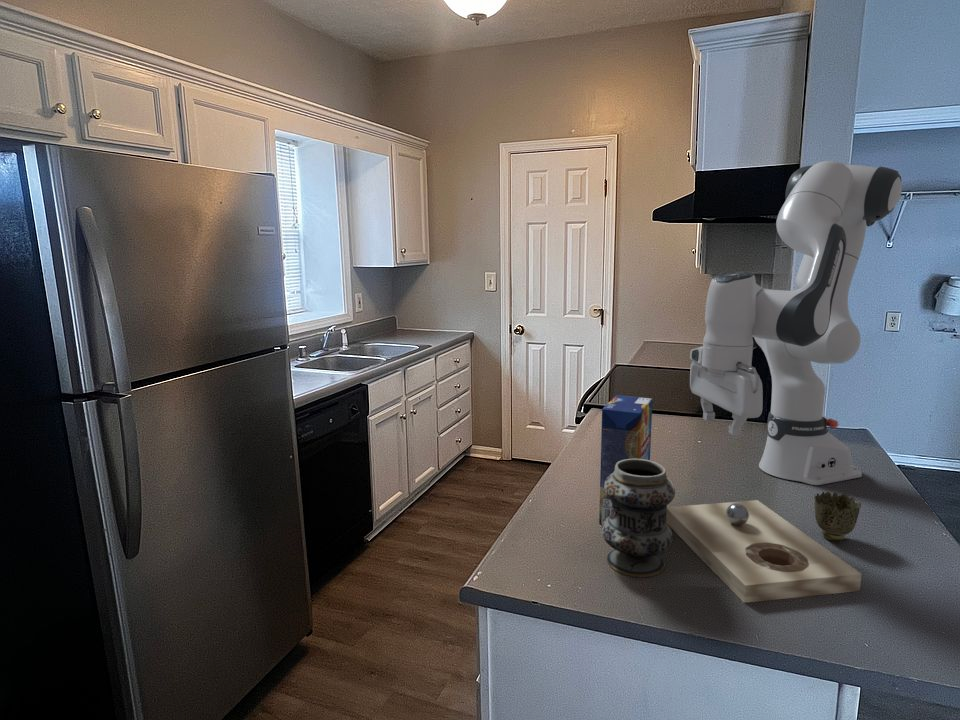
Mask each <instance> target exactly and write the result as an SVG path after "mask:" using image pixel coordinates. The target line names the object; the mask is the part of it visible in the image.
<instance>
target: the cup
mask: <svg viewBox="0 0 960 720" xmlns="http://www.w3.org/2000/svg"><path fill="white" fill-rule="evenodd" d="M855 500H856V499H855V498H854V497H853V496H852V497H850V496H848V495H847V494H845V493H843V494H841V495H838V493H837V492H836V491H835V492H833V494H831V492H830V491H826V492H824V491H822V492H821V494H819V492H817V493H816V495H814V517H815V520H816V521H815V522H816V524H817V526H818V527H819V528H820V529H821V530H822V532H821V533H822V536H823V538H825V539H826V540H828V541H830V542H834V543H840V542H844V540H845V538H846V535H847V534H848V535H849V534H851V532H852V531H853V530H854V528H855V527H856V525H857V520H858V517H859V514H860V510H861V506H862V503H861V501H858V502H856V501H855Z"/></svg>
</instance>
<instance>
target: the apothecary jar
mask: <svg viewBox="0 0 960 720" xmlns="http://www.w3.org/2000/svg"><path fill="white" fill-rule="evenodd" d="M604 489H605V492H606V494H607V496H608V497H609V498H610V499H611V503H610V514H609V517H608V518H606V520H605V521H604V522H603V524H601V525H602V526H601V537H602V538H603V540H604V541H605V543H606V544H607V545H608V546H610V547H611V549H612V550H611V551H610V552H609V553H608V554H607V557H606V561H607V564H608V565H609V566H610V568H611V569H613V571H616V572H618V573H620V574H622V575H624V576H629V577H633V578H651V577H655V576H657V575H660V574H661V573H662V572H663V571H664V569H665V567H666V566H665V560H664V559H662V558H660V557H659V555H661V554H663V553H664V552H666V551H667V550H668V549H669V548H671V547H670V546H671V545H672V543H673V537H674V536H673V532H672V528H671V527H670V526H669V525H668V524H667V523H666V512H667V507H668V505H669V504H670V503H672V501H673V500H674V498H675V495H676V489H675V486H674V484H673V483H672V481H671V480H670V479H669V478H668V477H667V472H666V468H665V467H664V465H662V464H660V463H658V462H656V461H652V460H651V459H650V460H645V459H624V460H621V461H618V462H617V463H616V465H615V470H614V473H612V474H610V475H609V476H608V477H607V479H606V480H605V483H604Z"/></svg>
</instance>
